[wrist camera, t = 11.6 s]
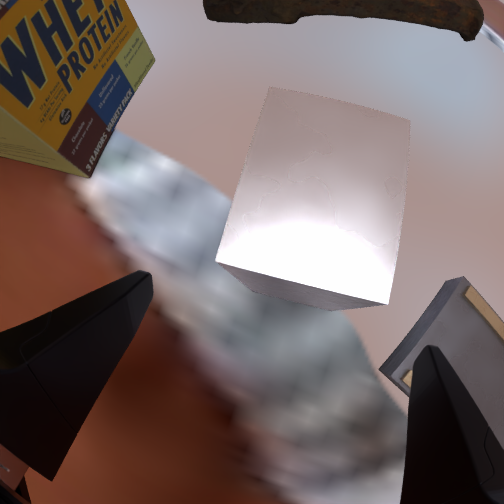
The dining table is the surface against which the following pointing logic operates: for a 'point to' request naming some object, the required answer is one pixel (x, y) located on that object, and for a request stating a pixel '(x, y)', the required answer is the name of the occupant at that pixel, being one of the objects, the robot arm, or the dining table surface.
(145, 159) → the dining table surface
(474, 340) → the grey gold-striped flat block
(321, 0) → the dark brown rod
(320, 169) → the pale upright block
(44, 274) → the dining table surface
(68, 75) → the protein box
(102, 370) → the robot arm
